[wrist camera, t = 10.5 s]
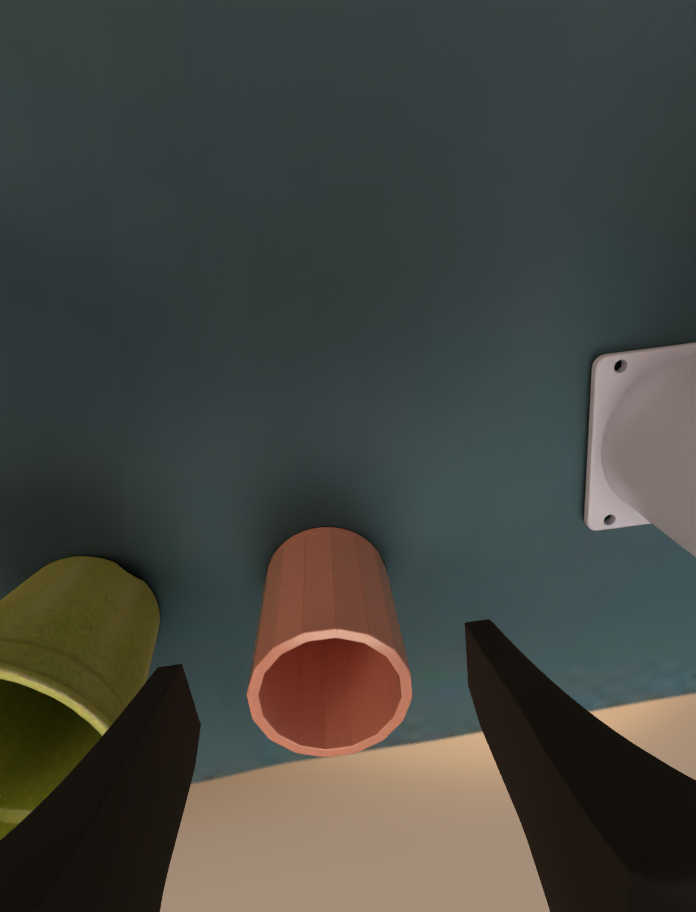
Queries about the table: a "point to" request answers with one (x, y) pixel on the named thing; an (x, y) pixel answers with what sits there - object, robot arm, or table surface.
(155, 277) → the table surface
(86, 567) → the plant pot
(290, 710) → the rose cup
